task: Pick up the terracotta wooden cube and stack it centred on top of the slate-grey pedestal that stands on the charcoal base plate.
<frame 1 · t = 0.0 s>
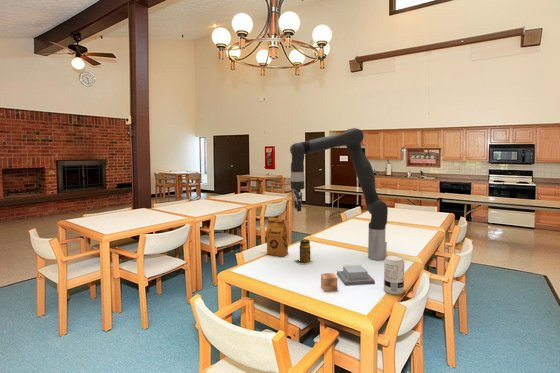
hand: (297, 209, 183), 29 cm above the table, tool pointing down, fingers open, 8 cm apart
condiment: (303, 262, 187), on the table
coffee package: (277, 254, 201), on the table
cube: (329, 288, 151), on the table
supplement can: (393, 291, 147), on the table
base: (354, 278, 161), on the table
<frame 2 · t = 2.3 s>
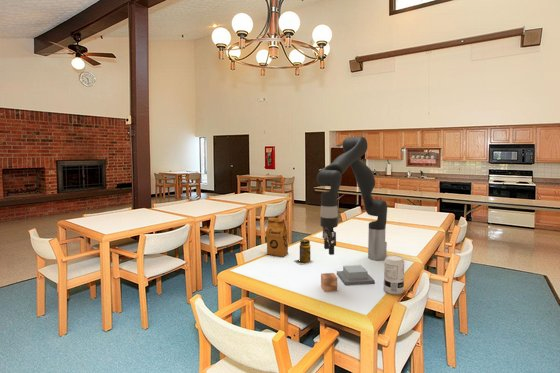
hand: (329, 251, 149), 17 cm above the table, tool pointing down, fingers open, 8 cm apart
nothing on the table moved.
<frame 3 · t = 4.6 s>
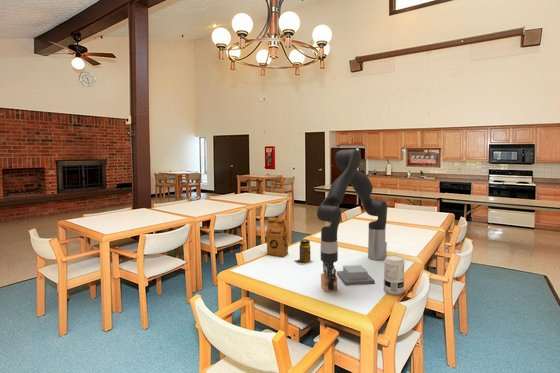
hand: (329, 286, 151), 1 cm above the table, tool pointing down, fingers closed on cube, 6 cm apart
cube: (329, 288, 151), on the table, touching gripper
everything else where it was.
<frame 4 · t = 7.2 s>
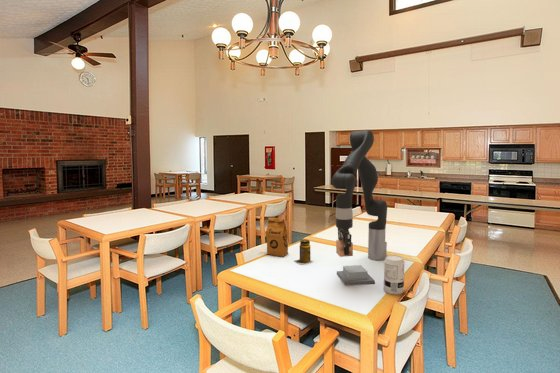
hand: (344, 252, 156), 14 cm above the table, tool pointing down, fingers closed on cube, 6 cm apart
cube: (344, 254, 156), point 14 cm above the table, touching gripper
everything else where it was.
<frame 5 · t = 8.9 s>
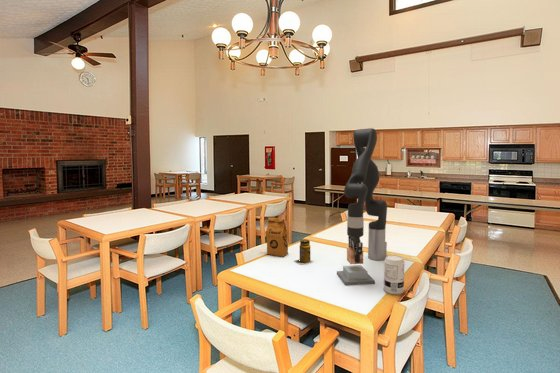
hand: (354, 260, 160), 9 cm above the table, tool pointing down, fingers closed on cube, 6 cm apart
cube: (354, 261, 160), point 8 cm above the table, touching gripper
everything else where it was.
when the fingers open (7 cm above the table, at t = 10.2 s): cube drops 1 cm, resting on base.
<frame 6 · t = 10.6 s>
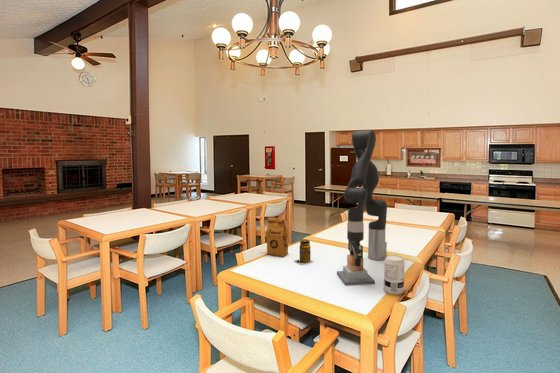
hand: (355, 263, 161), 8 cm above the table, tool pointing down, fingers open, 8 cm apart
cube: (355, 268, 161), point 5 cm above the table, touching base
everything else where it was.
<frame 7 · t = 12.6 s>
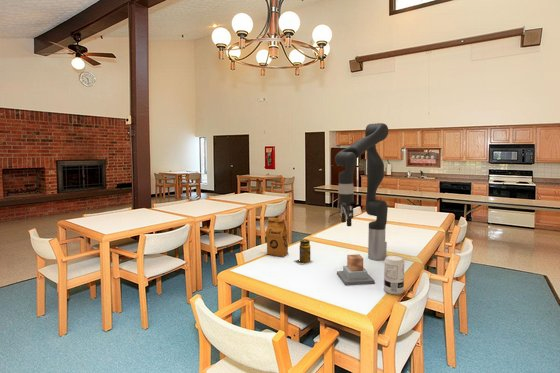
hand: (346, 224, 169), 24 cm above the table, tool pointing down, fingers open, 8 cm apart
nothing on the table moved.
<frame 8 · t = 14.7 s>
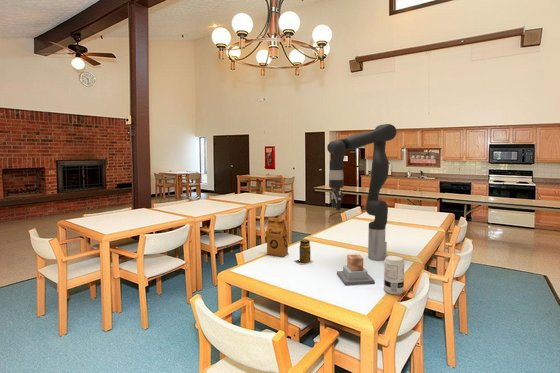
hand: (336, 208, 180), 30 cm above the table, tool pointing down, fingers open, 8 cm apart
nothing on the table moved.
at the end: cube 0.0 cm off-centre on the base, point 5.0 cm above the base's base; cube tilted 0°; the gripper is holding nothing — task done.
